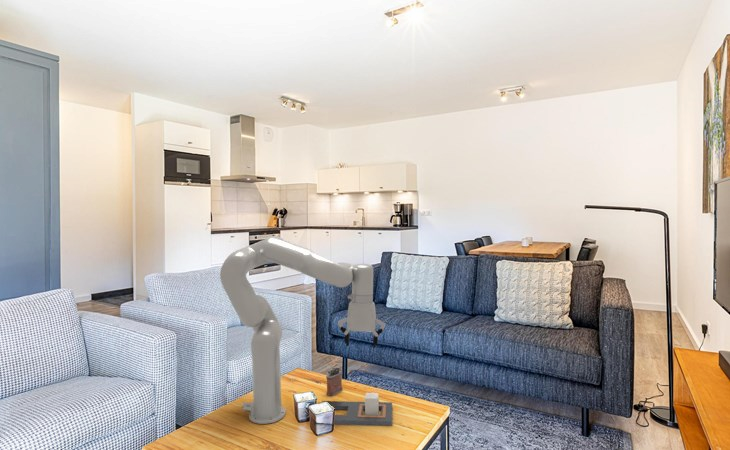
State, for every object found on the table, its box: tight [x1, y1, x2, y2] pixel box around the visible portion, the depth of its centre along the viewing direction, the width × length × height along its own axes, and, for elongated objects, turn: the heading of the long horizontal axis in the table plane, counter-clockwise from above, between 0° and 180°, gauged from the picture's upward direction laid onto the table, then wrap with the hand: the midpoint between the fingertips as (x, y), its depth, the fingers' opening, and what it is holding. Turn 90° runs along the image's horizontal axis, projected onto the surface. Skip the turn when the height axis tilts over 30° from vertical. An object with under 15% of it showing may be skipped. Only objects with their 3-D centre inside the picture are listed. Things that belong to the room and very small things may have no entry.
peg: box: [364, 392, 380, 416], centre depth 146 cm, size 4×4×7 cm
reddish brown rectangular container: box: [325, 365, 343, 397], centre depth 165 cm, size 8×3×10 cm, turn 144°
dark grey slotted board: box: [321, 400, 393, 427], centre depth 147 cm, size 26×14×2 cm, turn 86°
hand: (361, 345), depth 149 cm, fingers open, 9 cm apart
